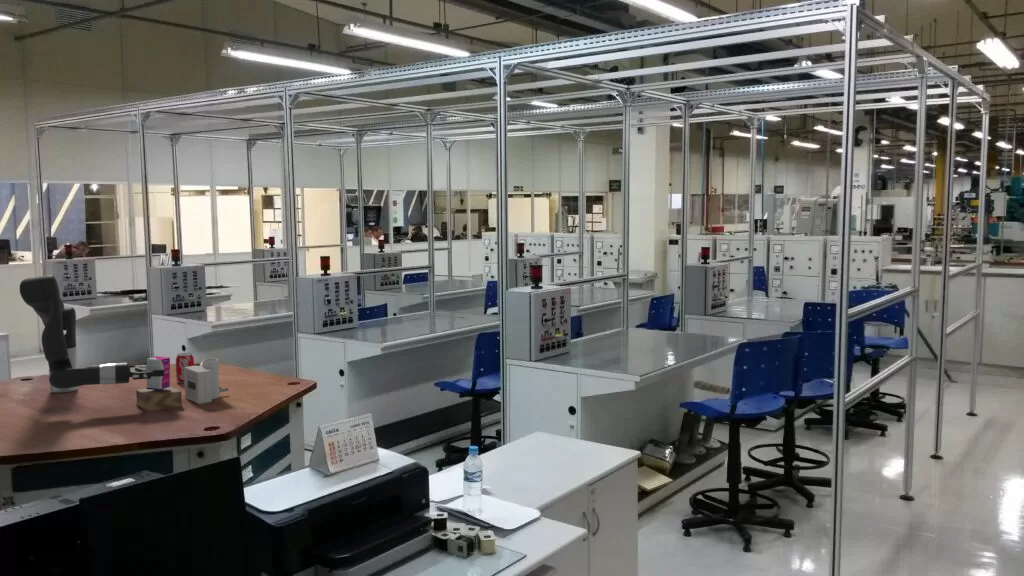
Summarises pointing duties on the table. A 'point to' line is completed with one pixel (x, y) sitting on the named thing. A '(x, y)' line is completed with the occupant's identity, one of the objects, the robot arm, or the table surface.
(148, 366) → the supplement box
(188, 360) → the soda can
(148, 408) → the walnut block
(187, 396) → the thermostat
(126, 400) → the table surface
